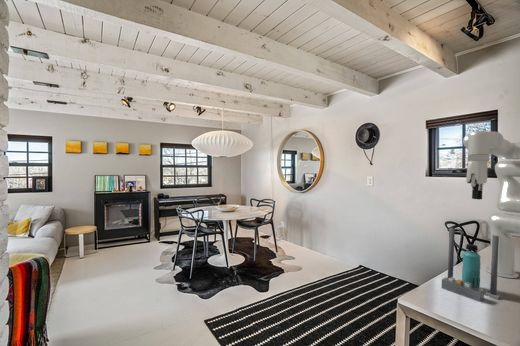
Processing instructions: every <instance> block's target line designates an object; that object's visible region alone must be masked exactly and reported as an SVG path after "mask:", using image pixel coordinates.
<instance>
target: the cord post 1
mask: <svg viewBox="0 0 520 346" xmlns="http://www.w3.org/2000/svg"><path fill="white" fill-rule="evenodd" d="M448 228H449V231H448V232H449V234H448V235H449V237H448V255H447V257H448V259H447V260H448V261H447V263H448V264H447V276H446V278H450V277H453V278H454V257H455V256H454V255H455V254H454V253H455V234H456V233H455V232H456V231H455V228H456V227H448ZM456 280H457V279H455V281H456Z"/></svg>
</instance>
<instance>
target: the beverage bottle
mask: <svg viewBox="0 0 520 346" xmlns="http://www.w3.org/2000/svg"><path fill="white" fill-rule="evenodd" d="M465 249H466V250H467V251H464V252H463V253H462V268H461V273H462V274H461V280H462V281H463V283H466V282H469V283H471V286H474V287H477V288H480V286H481V265H482V264H481V254H479V253H478V245H475V244H471V243H467V244H466V245H465Z"/></svg>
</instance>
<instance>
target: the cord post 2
mask: <svg viewBox="0 0 520 346" xmlns="http://www.w3.org/2000/svg"><path fill="white" fill-rule="evenodd" d="M498 245H499V236H496V235H492V260H491V273H490V285H489V286H490V289H489V291H487V292H485V293H484V296H486V297H488V296H489V297H488V298H490V299H491V298H492V299H494V300H499V299H501V298H502V294H500V293H497V290H498V289H497V288H498V276H497V269H498Z"/></svg>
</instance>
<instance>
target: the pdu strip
mask: <svg viewBox="0 0 520 346" xmlns="http://www.w3.org/2000/svg"><path fill="white" fill-rule="evenodd" d="M455 280H456V281H455ZM441 289H442V290H446V291H448V292H452V293H454V294H457V295H460V296H463V297H466V298H468V299H471V300H473V301H476V302H480V301H481V302H482V301H484V300H485V289H482V288H480V287H479V288H477V287H474V286H471V283H469V282H466V283H463V281H462V279H460V278H459V279H456V278H455V277H454V276H453V277H450V278H447V277H443V278H441ZM481 302H480V303H481Z"/></svg>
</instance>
